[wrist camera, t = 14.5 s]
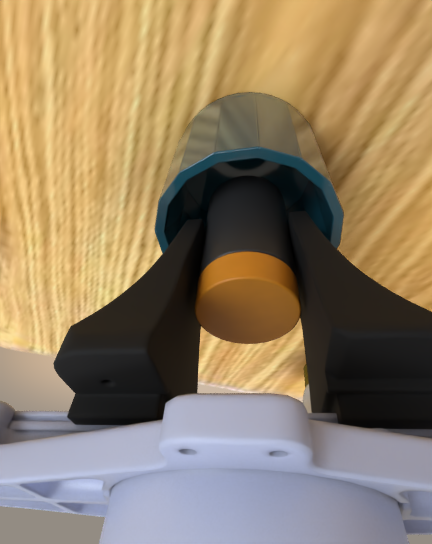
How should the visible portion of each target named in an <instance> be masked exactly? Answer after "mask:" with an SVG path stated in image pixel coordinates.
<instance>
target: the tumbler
mask: <svg viewBox="0 0 432 544" xmlns="http://www.w3.org/2000/svg"><path fill="white" fill-rule="evenodd" d="M238 176H257V177H261V178H264V179H266V180H268V181H269V182H271V183H272V184H274V185H275V186H276V187H277V188H278V189H279V191H280V192H281V194H282V196H283V198H284V202H285V208H286V214H287V220H288V227H289V212H297V211H306V212H307V213H308V215H309V216H310V218H311V219H312V220H313V222H314V223H315V225H316V226H317V227H318V228H319V230H320V231H321V232H322V233H323V235H324V236H325V237H326V238H327V239H328V240H329V242H330V243H331V244H332V245H333V246H334V247H335V248H336V249H337V248H338V246H339V244H340V240H341V232H342V225H343V218H344V212H343V209H342V207H341V204H340V201H339V199H338V196H337V193H336V191H335V188H334V186H333V183H332V180H331V178H330V175H329V172H328V170H327V167H326V165H325V162H324V159H323V157H322V154H321V151H320V149H319V146H318V144H317V141H316V139H315V136H314V134H313V131H312V129H311V126H310V124H309V123H308V122H307V121H306V119H305V118H304V117H303V116H302V115H301V114H300V113H299V111H298V110H296V109H295V108H294V107H293V106H291V105H290V104H289V103H287V102H285V101H283V100H281V99H279V98H277V97H274V96H271V95H267V94H262V93H252V92H247V93H237V94H233V95H228V96H226V97H223V98H220V99H218V100H216V101H214V102H213V103H211V104H209V105H208V106H206V107H205V108H204V109H202V110H201V111H200V112H199V113H198V114H197V115H196V116H195V117H194V118H193V119H192V121H191V122H190V123H189V125H188V126H187V128H186V130H185V132H184V133H183V136H182V137H181V139H180V140H179V143H178V146H177V149H176V152H175V155H174V158H173V160H172V163H171V166H170V169H169V172H168V175H167V178H166V181H165V184H164V187H163V190H162V193H161V196H160V199H159V202H158V209H157V216H156V223H155V233H156V236H157V239H158V242H159V245H160V247H161V250H162V253H164V252H165V250H166V249H167V248H168V247H169V245H170V244H171V243H172V241H173V240H174V238H175V237H176V236H177V234H178V233H179V231H180V230H181V228H182V227H183V225H184V224H185V223H186V221H187V220H192V219H203V224H204V229H206V222H207V215H208V208H209V202H210V199H211V196H212V195H213V193H214V192H215V190H216V189H217V188H218V187H219V186H220V185H221V184H223V183H224V182H226V181H228V180H230V179H232V178H235V177H238Z"/></svg>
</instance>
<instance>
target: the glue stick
mask: <svg viewBox="0 0 432 544" xmlns="http://www.w3.org/2000/svg"><path fill="white" fill-rule="evenodd" d="M195 315H196V318H197V320H198V322H199V324H200V325H201V326H202V327H203V328H204V329H205V330H206V331H207V332H209V333H210V334H212V335H213V336H215V337H218V338H220V339H223V340H226V341H229V342H234V343H242V344H255V343H263V342H268V341H271V340H275V339H277V338H280V337H281V336H283V335H285V334H287V333H288V332H289V331H291V330H292V329H293V328H294V327H295V325H296V324H297V322H298V321H299V318H300V316H301V302H300V296H299V290H298V283H297V277H296V271H295V265H294V258H293V252H292V246H291V240H290V234H289V227H288V220H287V214H286V208H285V202H284V198H283V196H282V194H281V192H280V191H279V189H278V188H277V187H276V186H275V185H274V184H272V183H271V182H269V181H268V180H266V179H264V178H261V177H257V176H238V177H235V178H232V179H230V180H228V181H226V182H224V183H223V184H221V185H220V186H219V187H218V188H217V189H216V190H215V192H214V193H213V195H212V196H211V199H210V202H209V208H208V215H207V222H206V229H205V236H204V244H203V251H202V258H201V265H200V272H199V280H198V286H197V294H196V301H195Z"/></svg>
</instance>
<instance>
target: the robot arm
mask: <svg viewBox="0 0 432 544" xmlns="http://www.w3.org/2000/svg"><path fill="white" fill-rule="evenodd" d="M289 234H290V240H291V246H292V252H293V258H294V265H295V271H296V277H297V283H298V290H299V296H300V302H301V316H300V318H301V323H302V329H303V338H304V346H305V354H306V363H307V372H308V382H309V391H310V401H311V412H312V413H307V410H306V408H305V406H304V404H303V403H302V402H301V401H299V400H297V399H295V398H292V397H290V396H288V395H280V394H272V393H236V394H235V393H234V394H233V393H232V394H231V393H230V394H228V393H225V394H223V393H222V394H221V393H220V394H218V393H216V394H215V393H213V394H212V393H210V394H206V393H205V394H204V393H203V394H201V393H200V394H199V393H197V385H198V362H199V344H200V329H201V325H200V324H199V322H198V320H197V318H196V315H195V301H196V294H197V286H198V280H199V272H200V265H201V258H202V251H203V244H204V236H205V229H204V224H203V219H192V220H187V221H186V223H185V224H184V225H183V227H182V228H181V230H180V231H179V233H178V234H177V236H176V237H175V238H174V240H173V241H172V243H171V244H170V245H169V247H168V248H167V249H166V250H165V252H164V253H163V254H162V255H161V257H160V258H159V259H158V260H157V261H156V263H155V264H154V265H153V266H152V267H151V268H150V269H149V270H148V271H147V272H146V273H145V274H144V275H143V276H142V277H141V278H140V279H139V280H138V281H137V282H136V283H135V284H133V285H132V286H131V287H130V288H129V289H127V290H126V291H125V292H124V293H122V294H121V295H120V296H119V297H117V298H116V299H115V300H113V301H112V302H110V303H109V304H107V305H106V306H104V307H103V308H101V309H100V310H98V311H97V312H95V313H94V314H92V315H90V316H88V317H87V318H85V319H83V320H81V321H80V322H78V323H76V324H74V325H72V326H71V327H70V329H69V331H68V333H67V335H66V337H65V339H64V341H63V343H62V345H61V348H60V350H59V352H58V354H57V357H56V359H55V361H54V369H55V371H56V372H57V374H58V375H59V377H60V378H61V379H62V380H63V381H64V382H65V383H66V384H67V385H68V386H69V387H70V388H71V389H72V390H73V391H74V392H75V393H76V394H75V397H74V399H73V402H72V404H71V407H70V410H69V411H15V409H14V408H13V407H12V406H10V405H9V404H7V403H5V402H2V401H0V506H6V507H17V508H28V509H37V510H47V511H56V512H65V513H74V514H82V515H91V516H100V517H105V521H104V525H103V529H102V533H101V537H100V541H99V544H409V541H408V538H407V534H419V535H420V534H421V535H422V534H423V535H428V534H432V312H431V311H429V310H427V309H424V308H422V307H420V306H418V305H416V304H414V303H412V302H410V301H408V300H406V299H404V298H402V297H400V296H399V295H397V294H395V293H393V292H391V291H390V290H388V289H386V288H385V287H383V286H382V285H380V284H379V283H377V282H376V281H374V280H373V279H371V278H370V277H368V276H367V275H365V274H364V273H363V272H361V271H360V270H359V269H358V268H356V267H355V266H354V265H353V264H352V263H350V262H349V261H348V260H347V259H346V258H345V257H344V256H343V255H342V254H341V253H340V252H339V251H338V250H337V249H336V248H335V247H334V246H333V245H332V244H331V243H330V242H329V240H328V239H327V238H326V237H325V236H324V235H323V233H322V232H321V231H320V230H319V228H318V227H317V226H316V225H315V223H314V222H313V220H312V219H311V218H310V216H309V215H308V213H307V212H306V211H297V212H289Z"/></svg>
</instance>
